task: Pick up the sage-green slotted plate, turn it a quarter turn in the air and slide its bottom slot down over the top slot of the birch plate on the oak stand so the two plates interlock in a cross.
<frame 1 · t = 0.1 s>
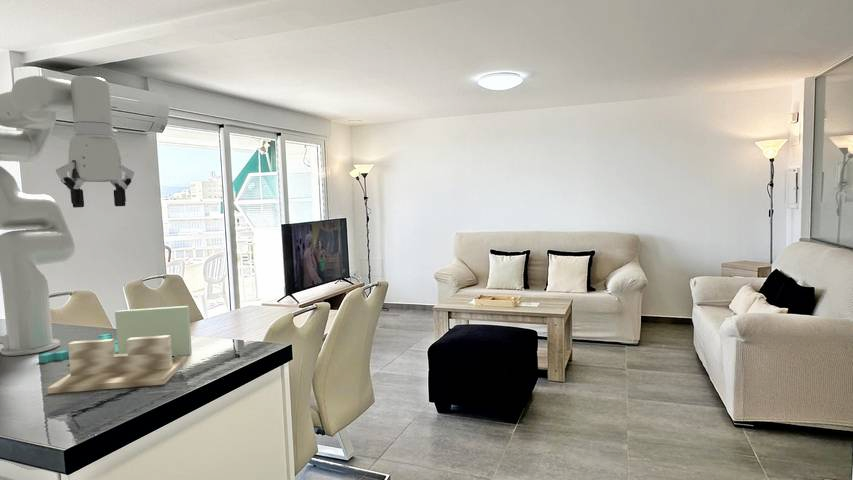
hand: (100, 206, 122), 37 cm above the counter, tool pointing down, fingers open, 9 cm apart
cross stand: (123, 376, 115), on the counter
alien figure: (107, 354, 135), on the counter
slotted plate: (156, 356, 129), on the counter
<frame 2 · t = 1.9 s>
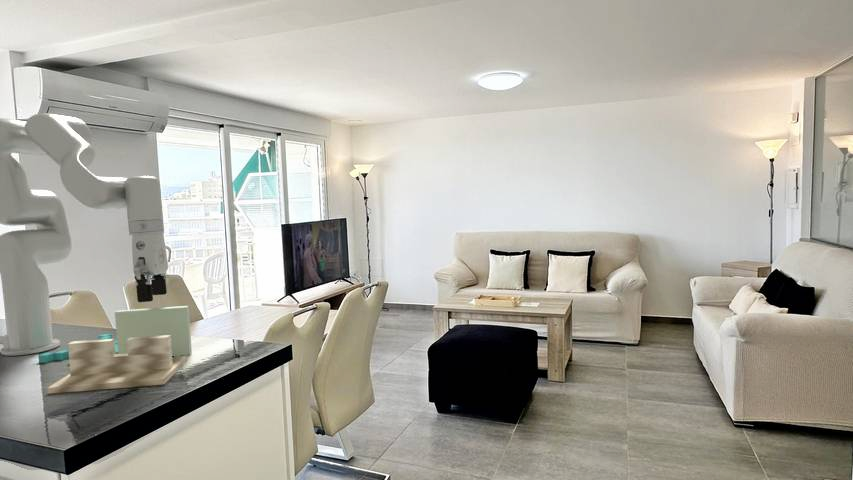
hand: (152, 298, 128), 15 cm above the counter, tool pointing down, fingers open, 9 cm apart
nothing on the counter moved.
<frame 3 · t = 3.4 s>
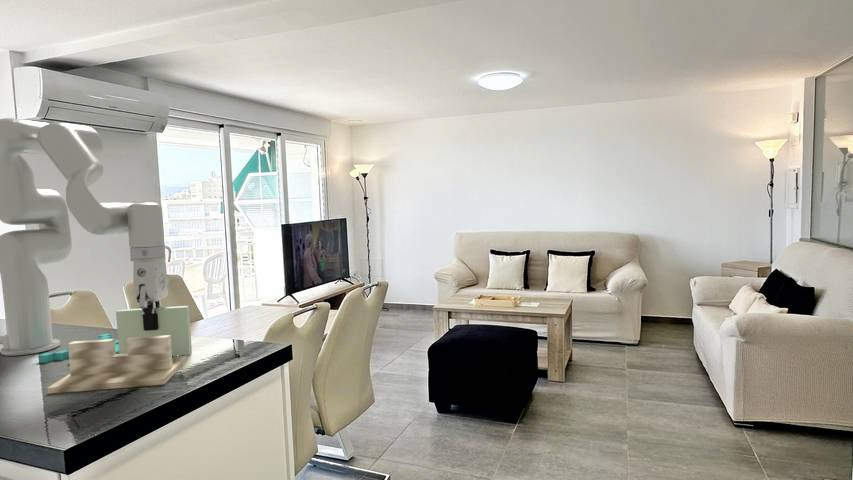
hand: (153, 328, 128), 7 cm above the counter, tool pointing down, fingers closed on slotted plate, 2 cm apart
slotted plate: (156, 356, 129), on the counter, touching gripper
everything else where it was.
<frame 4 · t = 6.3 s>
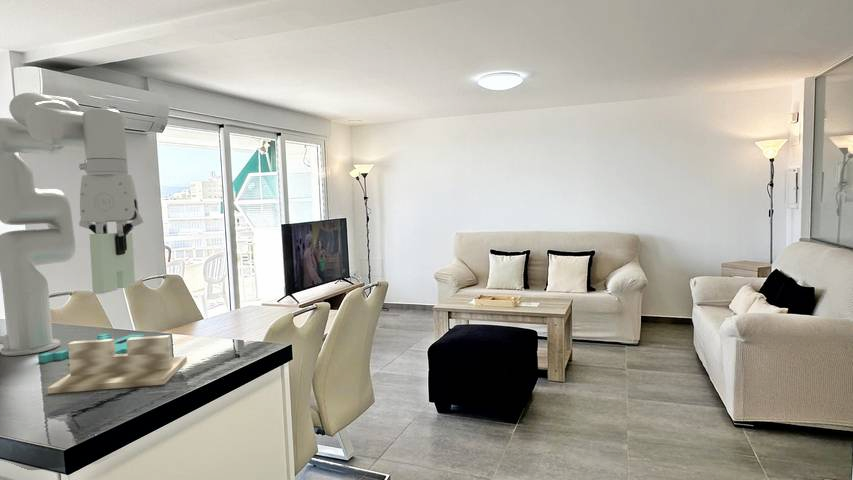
hand: (114, 254, 113), 27 cm above the counter, tool pointing down, fingers closed on slotted plate
slotted plate: (115, 289, 113), point 19 cm above the counter, touching gripper
everything else where it was.
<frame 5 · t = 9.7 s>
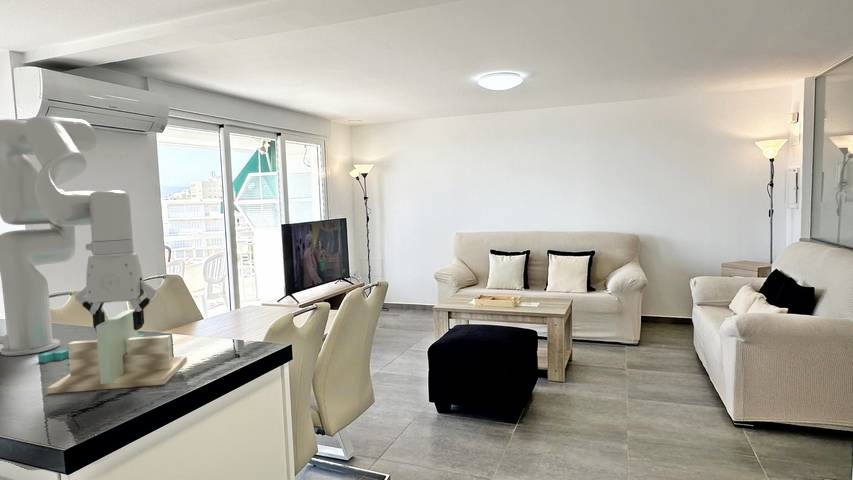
hand: (119, 329, 114), 10 cm above the counter, tool pointing down, fingers open, 7 cm apart
slotted plate: (121, 371, 114), point 1 cm above the counter, touching cross stand
everything else where it was.
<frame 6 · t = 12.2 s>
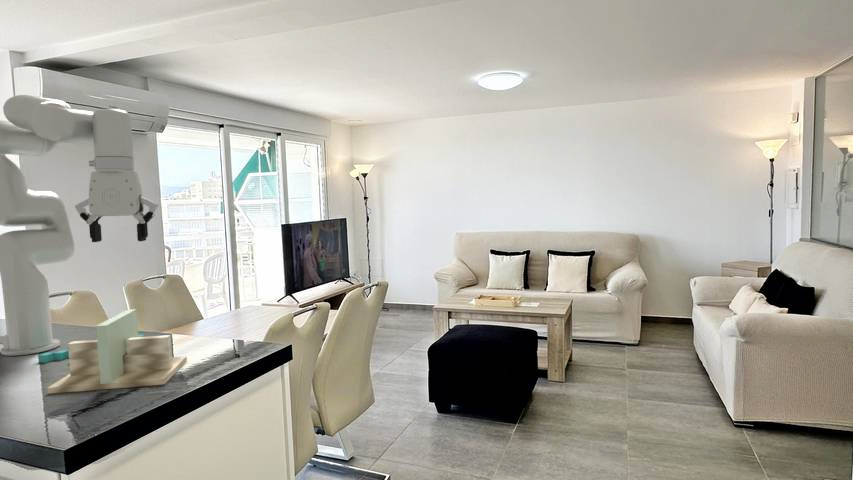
hand: (119, 241, 120), 29 cm above the counter, tool pointing down, fingers open, 9 cm apart
nothing on the counter moved.
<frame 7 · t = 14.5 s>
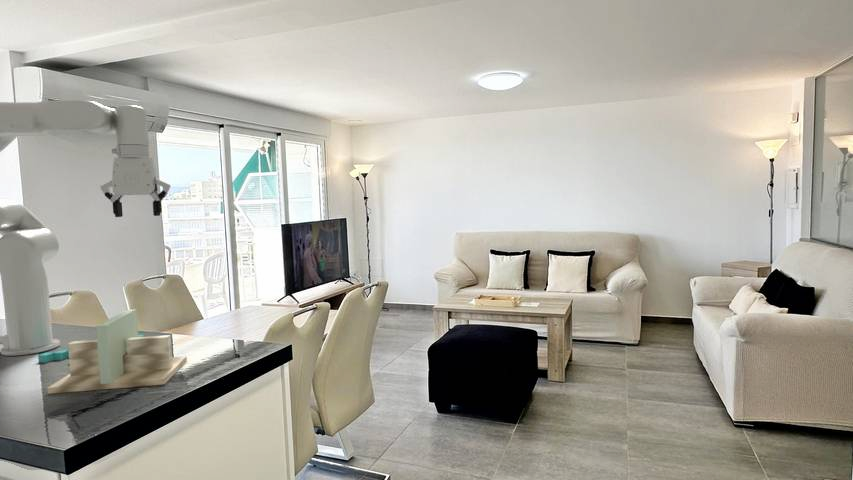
hand: (138, 216, 143), 34 cm above the counter, tool pointing down, fingers open, 9 cm apart
nothing on the counter moved.
at the end: slotted plate 0.3 cm off-centre on the cross stand, point 1.2 cm above the cross stand's base; slotted plate tilted 0°; the gripper is holding nothing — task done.
